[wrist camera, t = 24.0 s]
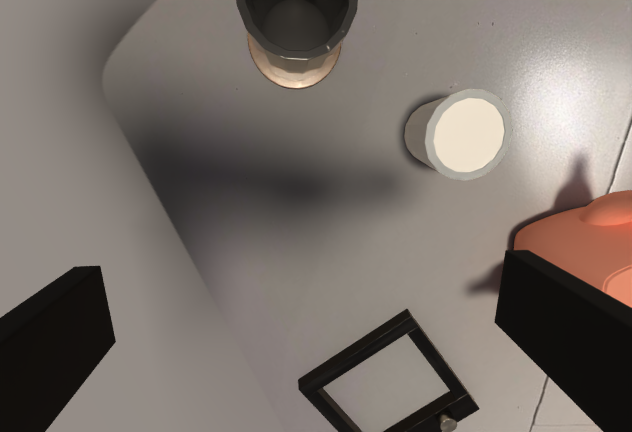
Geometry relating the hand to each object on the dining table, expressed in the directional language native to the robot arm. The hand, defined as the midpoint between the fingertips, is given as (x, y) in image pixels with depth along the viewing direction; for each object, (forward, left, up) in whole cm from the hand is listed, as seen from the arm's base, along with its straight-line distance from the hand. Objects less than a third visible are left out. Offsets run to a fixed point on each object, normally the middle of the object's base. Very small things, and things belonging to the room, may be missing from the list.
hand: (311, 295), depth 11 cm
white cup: (+4, +13, -23) cm, 27 cm away
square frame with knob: (+27, -6, -23) cm, 36 cm away
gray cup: (-10, +7, -22) cm, 25 cm away
